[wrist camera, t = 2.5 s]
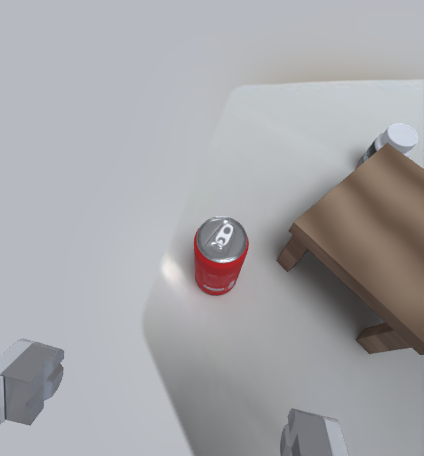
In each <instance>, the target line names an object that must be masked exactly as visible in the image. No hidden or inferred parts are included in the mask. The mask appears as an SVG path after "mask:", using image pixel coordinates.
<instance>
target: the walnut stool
mask: <svg viewBox="0 0 424 456" xmlns="http://www.w3.org/2000/svg"><path fill="white" fill-rule="evenodd" d="M289 231H290V232H291V233H292V234H293V236H292V237H291V239H290V241H289V242H288V244H287V245H286V247H285V248H284V250H283V251H282V253H281V254H280V256H279V257H278V259H277V262H278V263H279V264H280V265H281V266H282V267H283V268H284V269H285V270H286V271H287V272H288V271H289V270H290V269H291V268H292V267H293V266H295V265H296V264H297V263H298V262H299V261H300V259H301V258H302V257H303V256H304V255H305V253H306V252H307V251H308V250H310V251H311V252H312V253H313V254H314V255H315V256H316V257H317V258H318V259H319V260H320V261H321V262H322V263H323V264H324V265H326V266H327V267H328V268H329V269H330V270H331V271H332V272H333V273H334V274H335V275H336V276H337V277H338V278H339V279H340V280H341V281H342V282H344V283H345V284H346V285H347V286H348V287H349V288H350V289H351V290H352V291H353V292H354V293H355V294H356V295H357V296H358V297H359V298H360V299H362V300H363V301H364V302H365V303H366V304H367V305H368V306H369V307H370V308H371V309H372V310H373V311H374V312H375V313H376V314H377V315H378V316H379V317H381V318H382V319H383V320H384V321H385V322H386V323H383V324H379V325H376V326H373V327H369V328H366V329H365V330H364V331H363V332H362V334H361V335H360V336H359V337H358V338H357V339H356V341H357V342H358V343H359V344H360V345H361V346H362V347H363V348H364V349H365V350H366V351H367V352H368V353H369V354H372V353H379V352H385V351H392V350H398V349H405V348H413V349H414V350H415V351H417V352H418V353H419V354H420V355H424V169H423V168H422V167H420V166H419V165H417V164H416V163H415V162H413V161H412V160H411V159H409V158H408V157H406V156H405V155H404V154H402V153H401V152H400V151H398V150H397V149H395V148H394V147H393V146H391V145H390V144H389V143H386V144H385V145H384V146H383V147H382V148H380V149H379V150H378V151H377V152H376V153H374V154H373V155H372V156H371V157H370V158H369V159H367V160H366V161H365V162H364V163H363V164H362V165H360V166H359V167H358V168H357V169H356V170H355V171H353V172H352V173H351V174H350V175H349V176H348V177H346V178H345V179H344V180H343V181H342V182H340V183H339V184H338V185H337V186H336V187H335V188H333V189H332V190H331V191H330V192H329V193H328V194H326V195H325V196H324V197H323V198H322V199H321V200H319V201H318V202H317V203H316V204H315V205H314V206H312V207H311V208H310V209H309V210H308V211H306V212H305V213H304V214H303V215H302V216H301V217H299V218H298V219H297V220H296V221H295V222H294V223H293V225H292V226H291V228H290V230H289Z"/></svg>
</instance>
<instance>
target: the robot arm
mask: <svg viewBox="0 0 424 456" xmlns="http://www.w3.org/2000/svg"><path fill="white" fill-rule="evenodd" d="M63 359H64V351H63V350H62V349H59V348H55V347H52V346H48V345H45V344H41V343H38V342H33V341H30V340H27V339H20V340H18V341H17V342H16V343H14V344H13V345H12V346H11V347H10V348H9V349H8V350H7V351H6V352H4V353H3V354H2V355H1V356H0V424H1V423H3V422H4V421H5V420H10V421H14V422H18V423H22V424H26V425H31V424H32V422H33V421H34V420H35V418H36V417H37V416H38V415H39V413H40V412H41V411H42V409H43V407H44V401H45V400H47V399H49V398H50V397H52V396H53V395H54V393H55V392H56V390H57V389H58V387H59V385H60V382H61V380H62V376H63V367H62V365H61V364H60V362H61V361H62V360H63ZM288 423H289V424H287V425H285V426H284V429H283V432H282V436H281V443H280V452H281V456H349V455H348V451H347V448H346V444H345V441H344V438H343V434H342V431H341V427H340V424H339V422H338V420H337V419H333V418H329V417H325V416H320V415H317V414H313V413H309V412H305V411H301V410H297V409H293V408H292V409H291V410H290V412H289V415H288Z"/></svg>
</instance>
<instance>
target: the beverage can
mask: <svg viewBox="0 0 424 456" xmlns="http://www.w3.org/2000/svg"><path fill="white" fill-rule="evenodd" d="M248 246H249V242H248V237H247V234H246V232H245V230H244V228H243V227H242V225H241V224H240V223H239V222H237V221H236V220H234V219H232V218H229V217H224V216H218V217H213V218H210V219H208V220H207V221H205V222H204V223H203V224H202V225H201V227H200V228H199V229H198V231H197V232H196V235H195V238H194V255H195V278H196V281H197V284H198V285H199V287H200V288H201V289H202V290H203V291H205V292H206V293H208V294H211V295H222V294H225V293H227V292H228V291H230V290H231V289H232V288H233V287H234V285H235V283H236V280H237V278H238V275H239V273H240V270H241V267H242V265H243V262H244V259H245V257H246V254H247V251H248Z"/></svg>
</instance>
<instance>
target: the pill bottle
mask: <svg viewBox="0 0 424 456" xmlns="http://www.w3.org/2000/svg"><path fill="white" fill-rule="evenodd" d="M418 139H419V137H418V134H417V132H416V131H415V130H414V129H413V128H412V127H410V126H408V125H406V124H403V123H395V124H392V125H390V126H389V127H388V128H387V130H386V131H385V132H384V133H382V134H381V135H379V136H378V137H377V138H376V139H375V141H374V142H373V143H372V145H371V146H370V148H369V149H368V150H367V152H366V153H365V154H364V156H363V157H362V158H361V160H360V161H359V163H358V164H357V167H356V169H357V168H358V167H359V166H360V165H362V164H363V163H364V162H365V161H366V160H367V159H369V158H370V157H371V156H372V155H373V154H374V153H376V152H377V151H378V150H379V149H380V148H382V147H383V146H384V145H385V144H386V143H389V144H390V145H391V146H393V147H394V148H395V149H397V150H398V151H400V152H401V153H402V154H404V155H405V156H406V157H408V156H409V154H410V152H411V149H412V148H413V147H414V146H415V145H416V144H417V142H418Z"/></svg>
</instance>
